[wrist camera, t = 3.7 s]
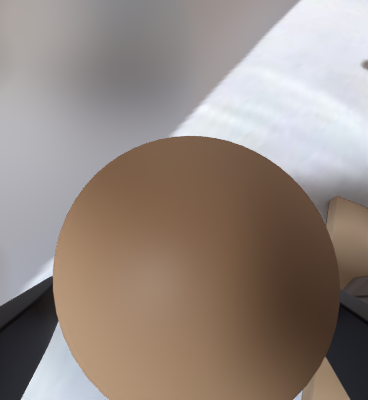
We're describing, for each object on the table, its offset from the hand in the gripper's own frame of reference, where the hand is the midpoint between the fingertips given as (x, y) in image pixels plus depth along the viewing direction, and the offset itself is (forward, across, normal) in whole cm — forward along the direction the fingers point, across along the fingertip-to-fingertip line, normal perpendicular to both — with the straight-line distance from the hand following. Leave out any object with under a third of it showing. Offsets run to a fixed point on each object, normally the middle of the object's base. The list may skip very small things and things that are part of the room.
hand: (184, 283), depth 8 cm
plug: (+6, 0, +6) cm, 8 cm away
